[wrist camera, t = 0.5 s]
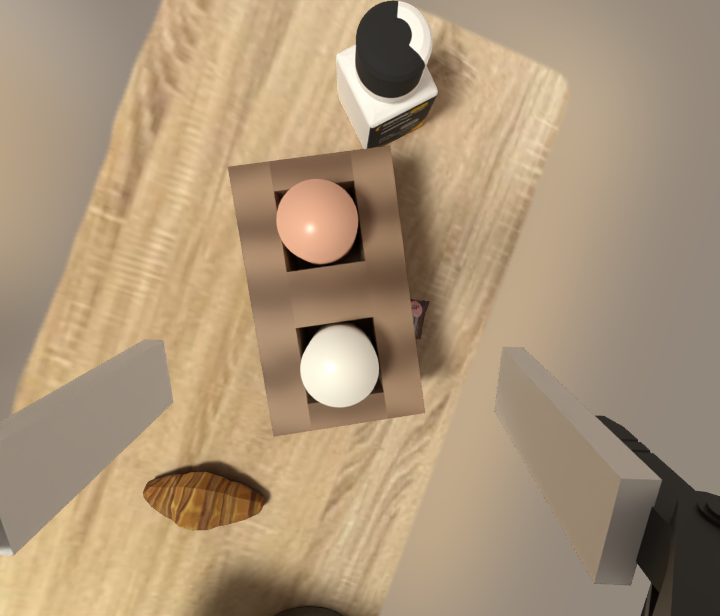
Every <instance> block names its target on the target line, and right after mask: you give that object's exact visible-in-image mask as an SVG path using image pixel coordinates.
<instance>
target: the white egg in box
mask: <svg viewBox="0 0 720 616" xmlns="http://www.w3.org/2000/svg"><path fill="white" fill-rule="evenodd" d="M300 372H301V378H302V382H303V384H304V386H305V388H306V390H307V391H308V393H309V394H310V395H311V396H312V397H313V398H314V399H316V400H317V401H319V402H320V403H322V404H324V405H327V406H331V407H348V406H352V405H354V404H357V403H359V402H360V401H362V400H363V399H365V398H366V397H367V396H368V395H369V394H370V393H371V391H372V390H373V388H374V386H375V384H376V382H377V379H378V374H379V363H378V358H377V355H376V353H375V350H374V348H373V346H372V343H371V341H370V338H369V336H368V334H367V333H366V331H365V330H364V329H363V328H362V327H361V326H360V325H358V324H357V323H355V322H353V321H350V320H348V321H341V322H335V323H328V324H324V325H322V326H321V327H320V328H319V329H318V330H317V331H316V333H315V334H314V336H313V338H312V339H311V341H310V343H309V345H308V346H307V348H306V350H305V352H304V354H303V356H302V360H301V365H300Z"/></svg>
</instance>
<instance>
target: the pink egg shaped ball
mask: <svg viewBox="0 0 720 616" xmlns="http://www.w3.org/2000/svg"><path fill="white" fill-rule="evenodd" d="M276 222H277V229H278V233H279V235H280V238H281V240H282V242H283V243H284V244H285V246H286V247H287V248H288V249H289V250H290V251H291V252H292V253H293V254H295V255H296V256H298V257H300V258H302V259H304V260H306V261H308V262H310V263H312V264H315V265H319V266H329V265H333V264H336V263H338V262H340V261H342V260H343V259H344V258H345V257H346V256H347V255H348V254H349V253H350V251H351V249H352V247H353V245H354V241H355V237H356V233H357V228H358V214H357V209H356V206H355V204H354V202H353V200H352V198H351V197H350V195H349V194H348V193H347V192H346V191H345V190H344V189H343V188H342V187H340V186H339V185H337V184H335V183H333V182H331V181H328V180H323V179H310V180H306V181H303V182H300V183H298V184H296V185H295V186H293V187H292V188H291V189H290V190H289V191H287V193H286V194H285V195H284V197H283V198H282V200H281V202H280V204H279V207H278V210H277V218H276Z"/></svg>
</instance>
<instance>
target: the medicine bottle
mask: <svg viewBox="0 0 720 616" xmlns="http://www.w3.org/2000/svg"><path fill="white" fill-rule="evenodd" d="M431 51H432V33H431V29H430V27H429V24H428V22H427V20H426V19H425V17H424V16H423V15H422V13H421V12H420V11H419V10H417V9H416V8H415V7H413V6H412V5H410V4H407V3H405V2H401V1H386V2H382V3H380V4H377V5H376V6H374V7H372V8H371V9H370V10H369V11H368V12H367V13H366V14H365V15H364V17H363V18H362V20H361V22H360V24H359V26H358V29H357V34H356V44H355V45H353V46H351V47H349V48H348V49H346V50H344V51H342V52H340V53H338V54H337V56H336V69H337V93H338V98H339V100H340V102H341V104H342V106H343V108H344V110H345V112H346V114H347V116H348V118H349V120H350V122H351V124H352V126H353V128H354V130H355V132H356V135H357V137H358V139H359V141H360V143H361V145H362V147H363V149H368V148H375V147H382V146H384V145H386V144H388V143H390V142H391V141H393V140H395V139H397V138H399V137H401V136H403V135H405V134H407V133H409V132H411V131H413V130H415V129H417V128H419V127H420V126H422V124H423V122H424V120H425V118H426V116H427V114H428V112H429V110H430V108H431V106H432V104H433V102H434V100H435V98H436V96H437V94H438V89H437V87H436V85H435V83H434V81H433V78H432V76H431V74H430V72H429V70H428V68H427V63H428V60H429V58H430V55H431Z"/></svg>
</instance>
